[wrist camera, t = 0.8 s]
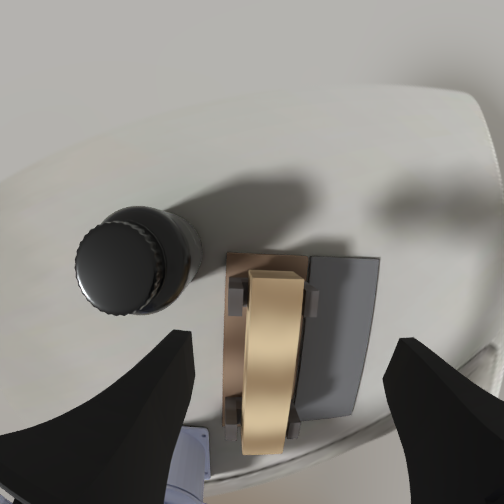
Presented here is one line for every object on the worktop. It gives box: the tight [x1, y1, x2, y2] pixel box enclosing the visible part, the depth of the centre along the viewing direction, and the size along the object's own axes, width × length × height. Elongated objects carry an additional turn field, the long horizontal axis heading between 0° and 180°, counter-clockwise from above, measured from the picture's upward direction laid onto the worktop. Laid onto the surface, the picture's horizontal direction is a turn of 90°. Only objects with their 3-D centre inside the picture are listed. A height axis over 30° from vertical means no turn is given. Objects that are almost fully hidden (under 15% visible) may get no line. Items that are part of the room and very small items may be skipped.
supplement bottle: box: [75, 206, 202, 316], centre depth 19 cm, size 7×7×12 cm
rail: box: [241, 270, 304, 455], centre depth 22 cm, size 16×4×4 cm, turn 177°
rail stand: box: [222, 252, 319, 441], centre depth 24 cm, size 18×7×6 cm, turn 177°
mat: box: [294, 256, 379, 421], centre depth 27 cm, size 18×7×1 cm, turn 177°
